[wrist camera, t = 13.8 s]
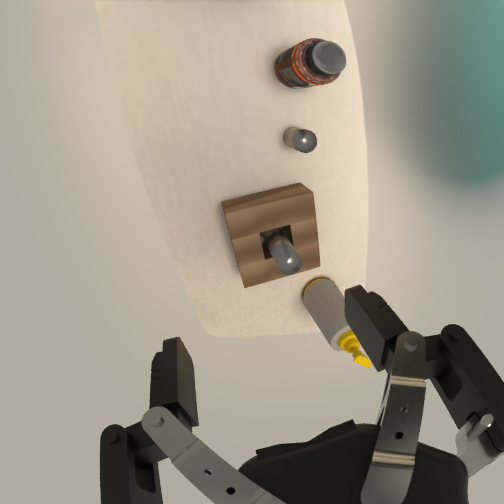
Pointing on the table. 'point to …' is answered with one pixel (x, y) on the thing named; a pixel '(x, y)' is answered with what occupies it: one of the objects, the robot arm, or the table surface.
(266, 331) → the table surface
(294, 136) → the short pin
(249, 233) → the guide block
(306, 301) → the soap bottle
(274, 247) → the tall pin
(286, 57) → the supplement bottle
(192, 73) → the table surface
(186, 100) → the table surface
